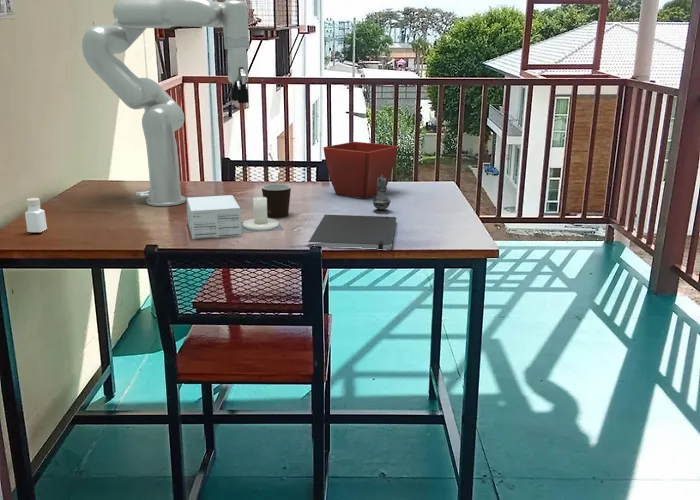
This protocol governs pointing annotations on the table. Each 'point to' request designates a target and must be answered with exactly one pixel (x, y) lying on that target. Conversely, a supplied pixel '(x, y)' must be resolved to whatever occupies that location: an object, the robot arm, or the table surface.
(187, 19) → the robot arm
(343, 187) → the plant pot
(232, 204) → the supplement box
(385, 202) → the grey stone figurine
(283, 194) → the coffee mug
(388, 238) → the notebook
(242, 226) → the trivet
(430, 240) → the table surface
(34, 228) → the salt shaker
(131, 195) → the table surface
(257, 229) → the lid
